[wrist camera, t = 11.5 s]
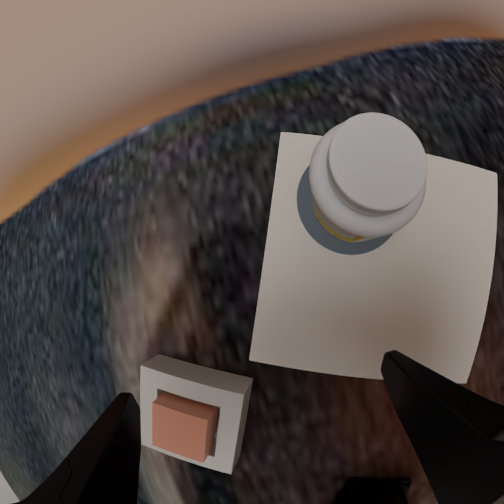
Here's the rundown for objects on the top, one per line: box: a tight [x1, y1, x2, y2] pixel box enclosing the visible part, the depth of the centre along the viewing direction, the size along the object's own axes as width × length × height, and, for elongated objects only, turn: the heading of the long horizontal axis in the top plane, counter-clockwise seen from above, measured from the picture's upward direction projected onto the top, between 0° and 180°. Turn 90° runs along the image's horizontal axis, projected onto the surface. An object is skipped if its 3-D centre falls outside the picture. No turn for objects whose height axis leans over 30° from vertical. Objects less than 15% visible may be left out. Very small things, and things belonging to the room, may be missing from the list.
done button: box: [152, 391, 219, 463], centre depth 20 cm, size 4×4×2 cm
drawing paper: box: [249, 132, 497, 383], centre depth 20 cm, size 18×17×1 cm
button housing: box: [140, 354, 253, 474], centre depth 21 cm, size 8×8×3 cm
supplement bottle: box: [309, 112, 427, 242], centre depth 15 cm, size 6×6×10 cm
